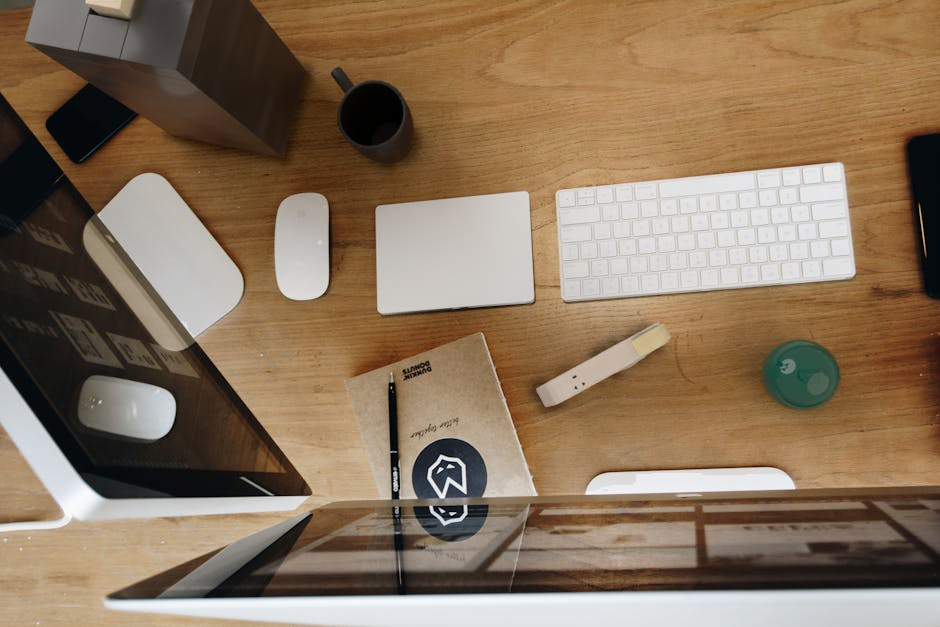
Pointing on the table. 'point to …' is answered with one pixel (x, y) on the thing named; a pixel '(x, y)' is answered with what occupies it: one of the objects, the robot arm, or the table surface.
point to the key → (113, 8)
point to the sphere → (800, 375)
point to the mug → (374, 119)
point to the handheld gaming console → (603, 365)
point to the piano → (182, 66)
